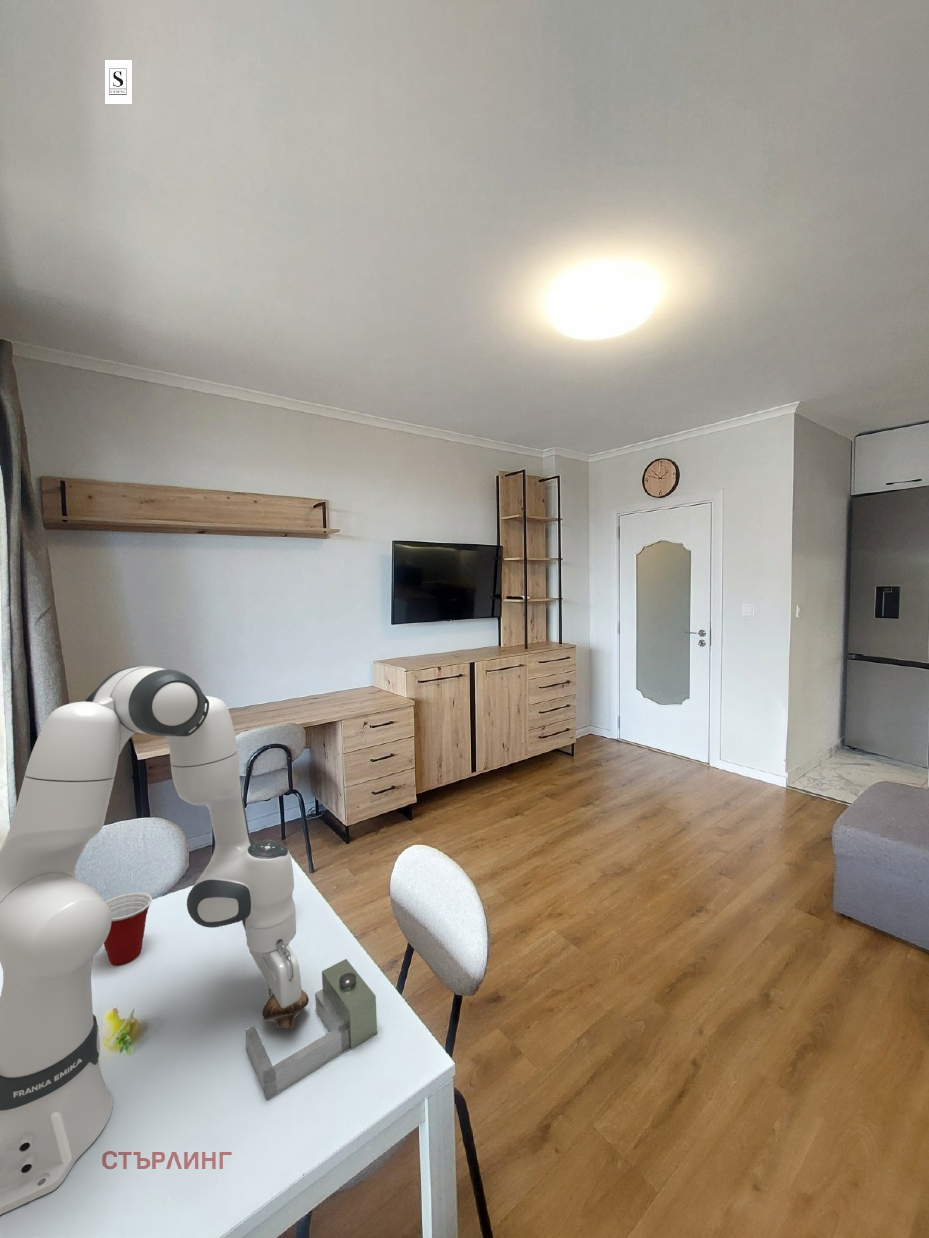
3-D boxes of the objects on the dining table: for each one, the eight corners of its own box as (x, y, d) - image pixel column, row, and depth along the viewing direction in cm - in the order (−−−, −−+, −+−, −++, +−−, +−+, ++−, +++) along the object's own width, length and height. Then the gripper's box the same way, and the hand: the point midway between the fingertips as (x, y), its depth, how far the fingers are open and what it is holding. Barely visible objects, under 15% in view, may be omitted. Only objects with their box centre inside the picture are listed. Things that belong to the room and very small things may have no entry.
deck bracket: (268, 1102, 78) (265, 1054, 78) (246, 1049, 87) (244, 1006, 87) (377, 1033, 90) (375, 991, 89) (347, 992, 99) (346, 954, 99)
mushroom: (294, 1030, 87) (289, 987, 90) (254, 1044, 88) (251, 1001, 91) (319, 1018, 94) (314, 978, 97) (281, 1031, 95) (278, 992, 98)
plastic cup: (163, 952, 112) (159, 900, 112) (106, 982, 104) (102, 926, 103) (145, 932, 119) (141, 883, 119) (90, 959, 111) (86, 906, 110)
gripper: (308, 949, 90) (312, 1023, 90) (270, 897, 105) (273, 961, 106) (273, 966, 86) (276, 1044, 86) (239, 910, 102) (242, 976, 102)
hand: (274, 998), depth 96 cm, fingers closed
